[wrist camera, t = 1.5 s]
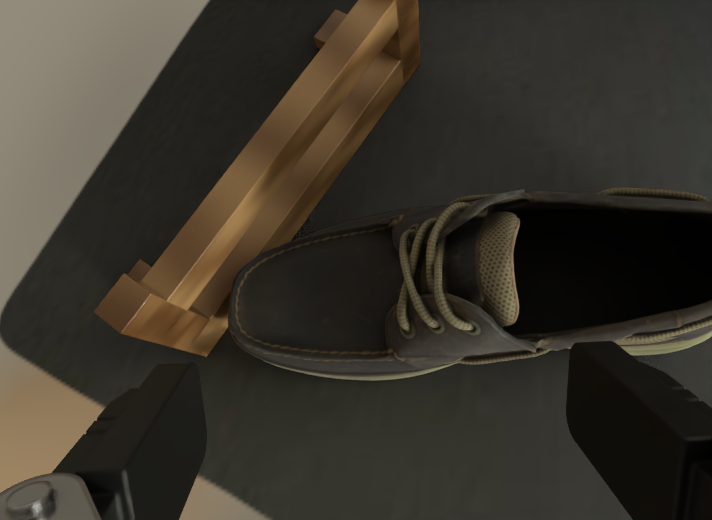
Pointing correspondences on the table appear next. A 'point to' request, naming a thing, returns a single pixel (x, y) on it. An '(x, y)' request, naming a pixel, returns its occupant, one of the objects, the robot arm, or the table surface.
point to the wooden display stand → (272, 178)
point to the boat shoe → (481, 283)
